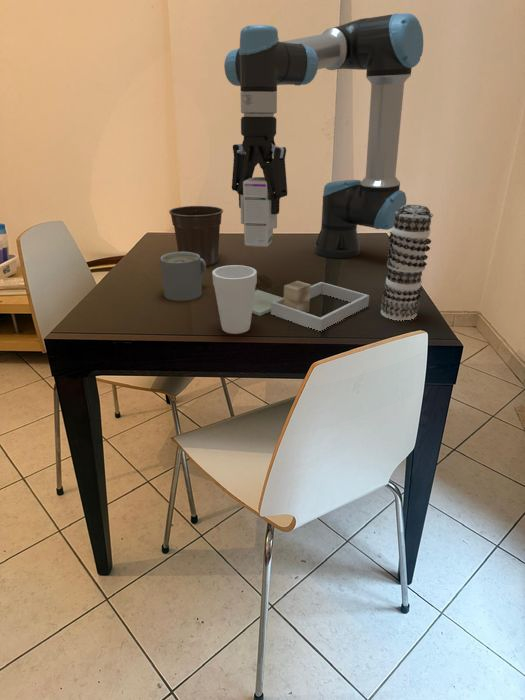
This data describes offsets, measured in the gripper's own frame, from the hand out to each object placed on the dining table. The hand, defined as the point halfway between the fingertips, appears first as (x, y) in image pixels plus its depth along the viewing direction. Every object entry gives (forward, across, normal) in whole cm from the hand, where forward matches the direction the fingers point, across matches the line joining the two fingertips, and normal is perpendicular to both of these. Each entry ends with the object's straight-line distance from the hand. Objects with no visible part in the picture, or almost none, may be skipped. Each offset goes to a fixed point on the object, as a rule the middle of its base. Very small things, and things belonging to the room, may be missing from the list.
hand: (258, 225), depth 108 cm
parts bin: (+19, +14, +7) cm, 25 cm away
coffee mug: (+20, -19, -7) cm, 28 cm away
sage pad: (+19, 0, 0) cm, 19 cm away
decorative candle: (+20, +29, +18) cm, 39 cm away
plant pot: (+20, -38, +13) cm, 45 cm away
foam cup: (+20, +6, -14) cm, 25 cm away
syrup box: (+4, 0, 0) cm, 4 cm away
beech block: (+20, +10, +2) cm, 22 cm away
